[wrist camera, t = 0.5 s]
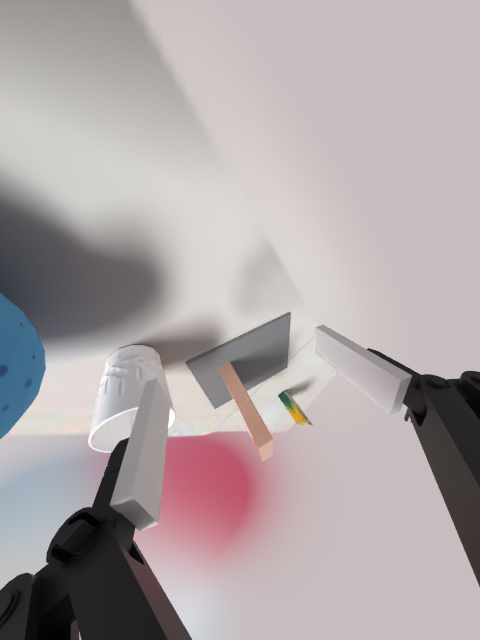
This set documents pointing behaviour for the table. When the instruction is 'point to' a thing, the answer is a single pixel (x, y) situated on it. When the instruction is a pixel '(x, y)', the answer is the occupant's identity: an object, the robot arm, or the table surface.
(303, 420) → the crayon box
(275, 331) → the mat
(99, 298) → the table surface
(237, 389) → the tile
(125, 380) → the white cup
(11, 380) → the educational model
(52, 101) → the table surface
